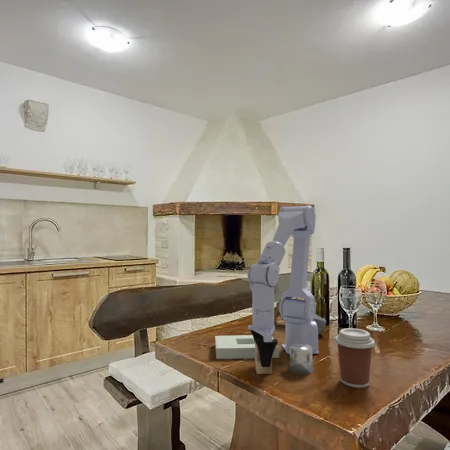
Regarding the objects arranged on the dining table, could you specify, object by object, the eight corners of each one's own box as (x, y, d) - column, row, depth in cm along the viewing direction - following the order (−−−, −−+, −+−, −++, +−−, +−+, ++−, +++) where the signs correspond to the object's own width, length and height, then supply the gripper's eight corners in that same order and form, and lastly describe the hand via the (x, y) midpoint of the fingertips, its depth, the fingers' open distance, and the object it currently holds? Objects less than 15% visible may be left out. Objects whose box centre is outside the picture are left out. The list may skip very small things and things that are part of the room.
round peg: (308, 365, 96) (308, 343, 96) (315, 374, 90) (315, 350, 90) (287, 366, 96) (287, 343, 96) (292, 374, 90) (292, 351, 90)
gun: (310, 358, 125) (323, 322, 120) (266, 319, 143) (276, 286, 139) (316, 356, 126) (329, 321, 122) (272, 317, 145) (281, 285, 141)
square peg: (269, 367, 94) (269, 341, 94) (272, 373, 90) (271, 346, 91) (255, 368, 94) (255, 341, 94) (257, 373, 90) (257, 346, 90)
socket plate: (271, 344, 114) (271, 334, 114) (278, 357, 102) (278, 347, 102) (215, 345, 113) (215, 335, 113) (216, 359, 101) (216, 348, 101)
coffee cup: (353, 371, 92) (352, 325, 92) (383, 385, 84) (383, 334, 84) (327, 378, 87) (326, 330, 87) (356, 393, 79) (356, 340, 79)
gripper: (244, 303, 99) (245, 352, 99) (251, 316, 85) (251, 372, 85) (269, 303, 100) (269, 351, 100) (280, 315, 85) (280, 372, 85)
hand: (263, 361), depth 92 cm, fingers open, 7 cm apart
